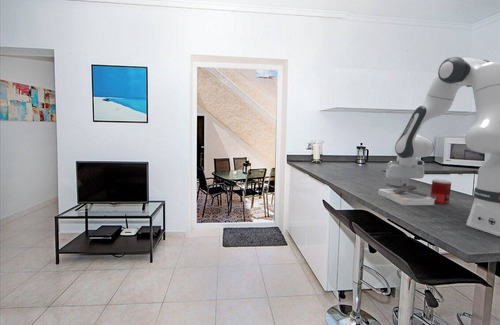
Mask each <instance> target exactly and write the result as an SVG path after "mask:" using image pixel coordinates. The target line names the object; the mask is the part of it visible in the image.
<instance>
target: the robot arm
mask: <svg viewBox="0 0 500 325" xmlns="http://www.w3.org/2000/svg"><path fill="white" fill-rule="evenodd" d="M465 86H466V87H467V88H472V93H473V99H474V103H475V104H474V105H475V112H476V114H475V120H474V122H473V125H472V126H470V128H469V129H468V130H467V131H466V134H465V136H464V144H465V145H466V147H467V148H468V149H469V150H470V151H472V152H477V153H482V154H488V155H490V156H489V158H488V160H487V161H486V162H485V163H484V164H482V165H481V166H480V167H479V168H478V171H477V178H476V185H475V186H476V187H474V191H473V197H474V199H473V203H472V205H471V209H470V212H469V215H468V218H467V219H466V224H465V225H466V226H467V227H470V228H473V229H475V230H479V231H481V232H486V233H488V234H491V235H494V236H496V237H500V62H497V61H489V60H487V59H478V58H474V57H467V56H465V57H460V56H454V57H449V58H446V59H445V60H444V61H442V62H441V64H440V66H439V68H438V72H437V75H436V76H435V78H434V79H433V81H432V83H431V85H430V87H429V89H428V91H427V94H426V95H425V99H424V100H423V101H422V103H421V104H420V105H419V106H418V107H417V108H416V109H415V110H414V112H412V115H411V117H410V118H409V119H408V120H409V121H408V122H407V125H406V127H405V128H404V130H403V132H401V133H400V135H399V137H398V139H397V141H396V142H395V145H394V150H395V153H396V154H397V156H396V160H394V161H392V160H390V161H388V163H386V170H385V178H387V179H398V181H399V183H400V184H399V185H400V186H403V187H405V186H408V184H409V181H410V179H418V180H419V179H423V178H424V177H425V166H424V165H425V161H423V160H421V159H418V158H426V157H430V156H431V155H432V154H433V151H434V146H435V145H434V143H433V141H432V140H431V139H429V138H426V137H424V136H422V135H420V134H419V131H420V130H421V128H422V126H423V124H425V123H426V122H427V121H430V120H431V119H434V118H437V117H440V116H442V115H444V114H446V113H447V112H448V111H449V110H450V108H452V105H453V103H454V101H455V97H456V95H457V93H458V90H460V88H462V87H465Z"/></svg>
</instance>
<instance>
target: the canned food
mask: <svg viewBox="0 0 500 325" xmlns="http://www.w3.org/2000/svg"><path fill="white" fill-rule="evenodd" d="M451 187H452V181H450V180H446V179H432V181H431V189H430V190H431V192H430V198H433V199H435V200H434V204H439V205H448V204H449V203H450V197H451Z"/></svg>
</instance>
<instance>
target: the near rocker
mask: <svg viewBox="0 0 500 325" xmlns="http://www.w3.org/2000/svg"><path fill="white" fill-rule="evenodd" d="M403 191H406V192H408V193H412V194H416V195H420V196H424V197H426V196H427V197H428V194H425V193H424V192H420V191H416V190H409V189H405V188H403Z"/></svg>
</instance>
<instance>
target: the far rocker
mask: <svg viewBox="0 0 500 325" xmlns="http://www.w3.org/2000/svg"><path fill="white" fill-rule="evenodd" d="M385 185H386V186H388V187H390V188H393V189H398V188H401V187H403V186H400V184H393V183H389V182H386V184H385Z"/></svg>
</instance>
